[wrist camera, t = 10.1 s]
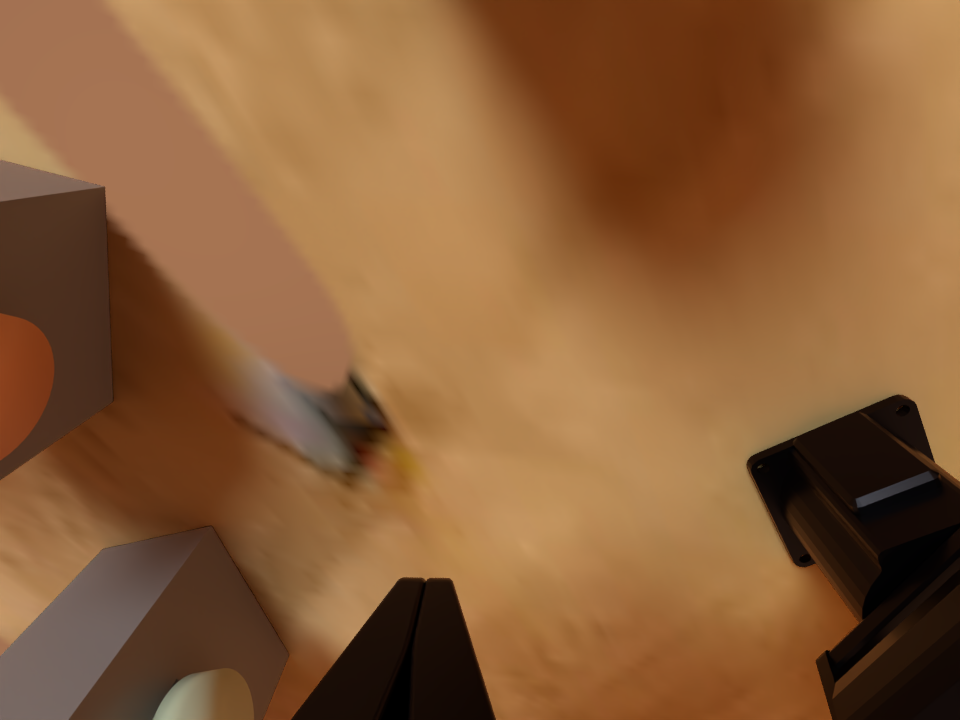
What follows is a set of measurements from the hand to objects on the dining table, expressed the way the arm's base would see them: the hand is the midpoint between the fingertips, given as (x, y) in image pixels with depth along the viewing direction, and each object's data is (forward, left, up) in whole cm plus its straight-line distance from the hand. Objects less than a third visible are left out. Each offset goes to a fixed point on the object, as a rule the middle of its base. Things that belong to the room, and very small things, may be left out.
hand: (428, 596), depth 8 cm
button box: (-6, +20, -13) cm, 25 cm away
